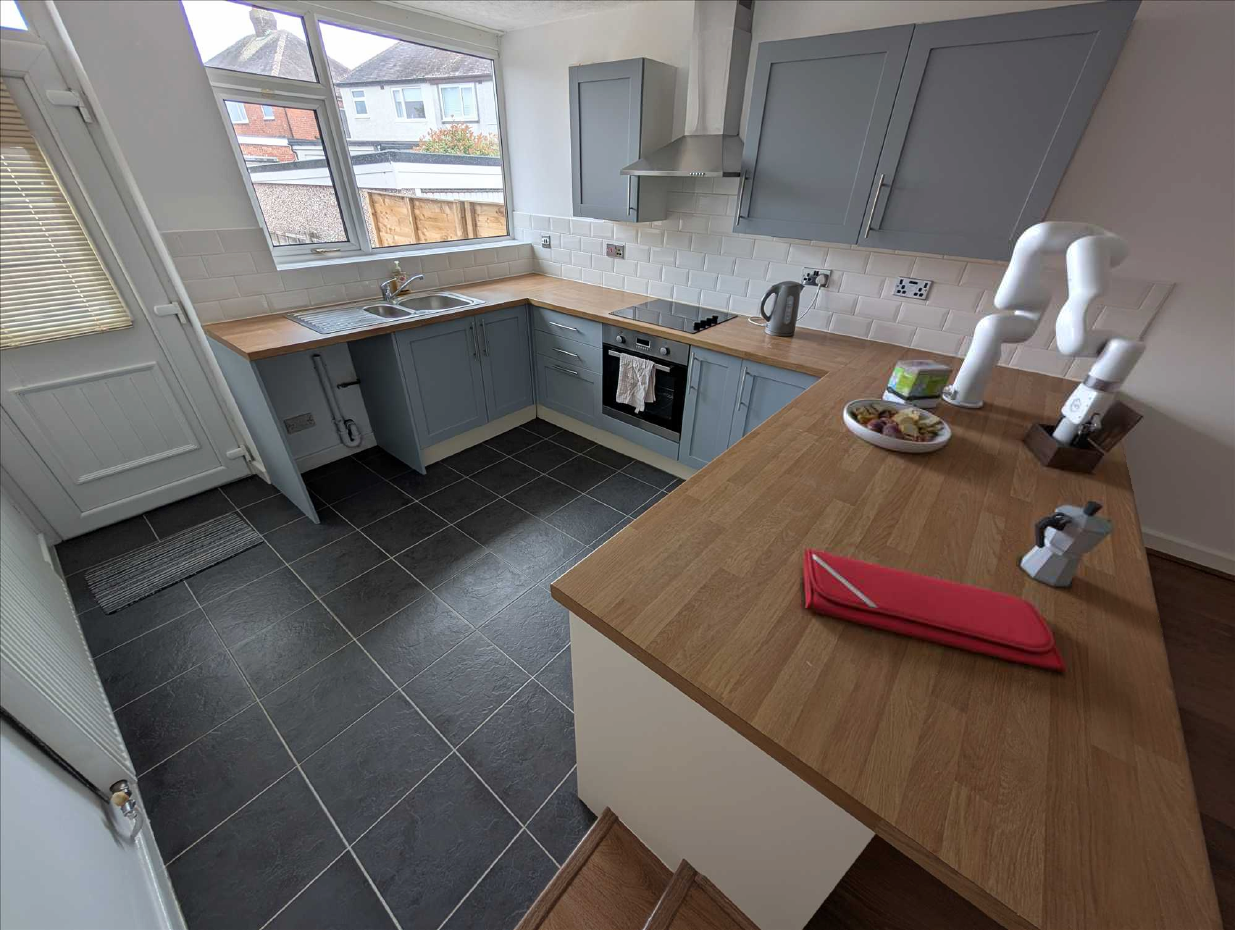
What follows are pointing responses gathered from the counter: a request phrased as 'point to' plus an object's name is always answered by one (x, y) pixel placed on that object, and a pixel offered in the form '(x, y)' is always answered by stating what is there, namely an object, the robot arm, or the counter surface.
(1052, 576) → the coffee maker
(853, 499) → the counter surface
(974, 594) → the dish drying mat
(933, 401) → the tea box
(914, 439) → the bowl
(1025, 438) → the chest
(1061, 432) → the beverage can
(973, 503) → the counter surface
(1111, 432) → the chest lid
